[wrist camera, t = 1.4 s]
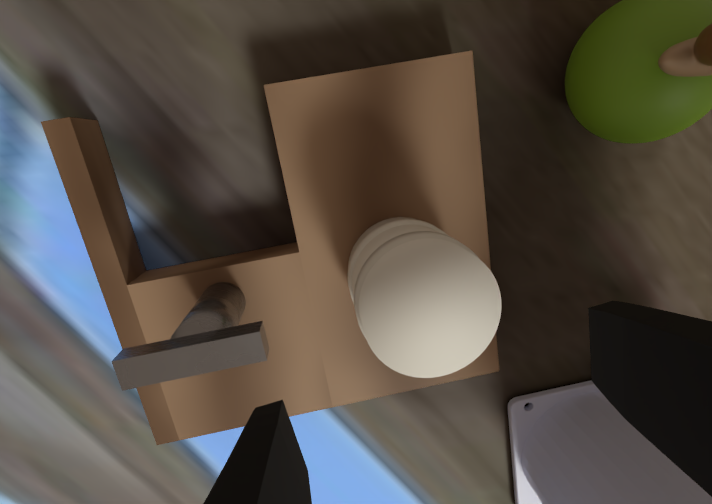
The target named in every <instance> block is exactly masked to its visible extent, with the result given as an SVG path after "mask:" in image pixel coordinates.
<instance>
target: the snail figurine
mask: <svg viewBox="0 0 712 504" xmlns="http://www.w3.org/2000/svg"><path fill="white" fill-rule="evenodd" d="M565 93H566V98H567V102H568V105H569V107H570V110H571V112H572V113H573V115H574V117H575V118H576V119H577V121H578V122H579V123H580V124H581V125H582V126H583V127H584V128H585V129H587V130H588V131H590V132H591V133H593V134H594V135H596V136H598V137H601V138H603V139H606V140H609V141H613V142H619V143H645V142H651V141H655V140H659V139H663V138H666V137H668V136H671V135H673V134H676V133H678V132H680V131H682V130H684V129H686V128H687V127H689V126H691V125H692V124H694V123H695V122H697V121H698V120H699V119H701V118H702V117H703V116H704V115H706V114H707V113H708V112H709V111H710V110H711V109H712V0H622V1H620V2H618V3H616V4H615V5H613V6H612V7H610V8H609V9H607V10H606V11H605V12H604V13H602V14H601V15H600V16H599V17H598V18H597V19H596V20H595V21H593V23H592V24H591V25H590V26H589V27H588V28H587V29H586V30H585V32H584V33H583V34H582V36H581V37H580V39H579V40H578V42H577V43H576V45H575V47H574V49H573V51H572V53H571V56H570V58H569V61H568V65H567V69H566V74H565Z"/></svg>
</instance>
